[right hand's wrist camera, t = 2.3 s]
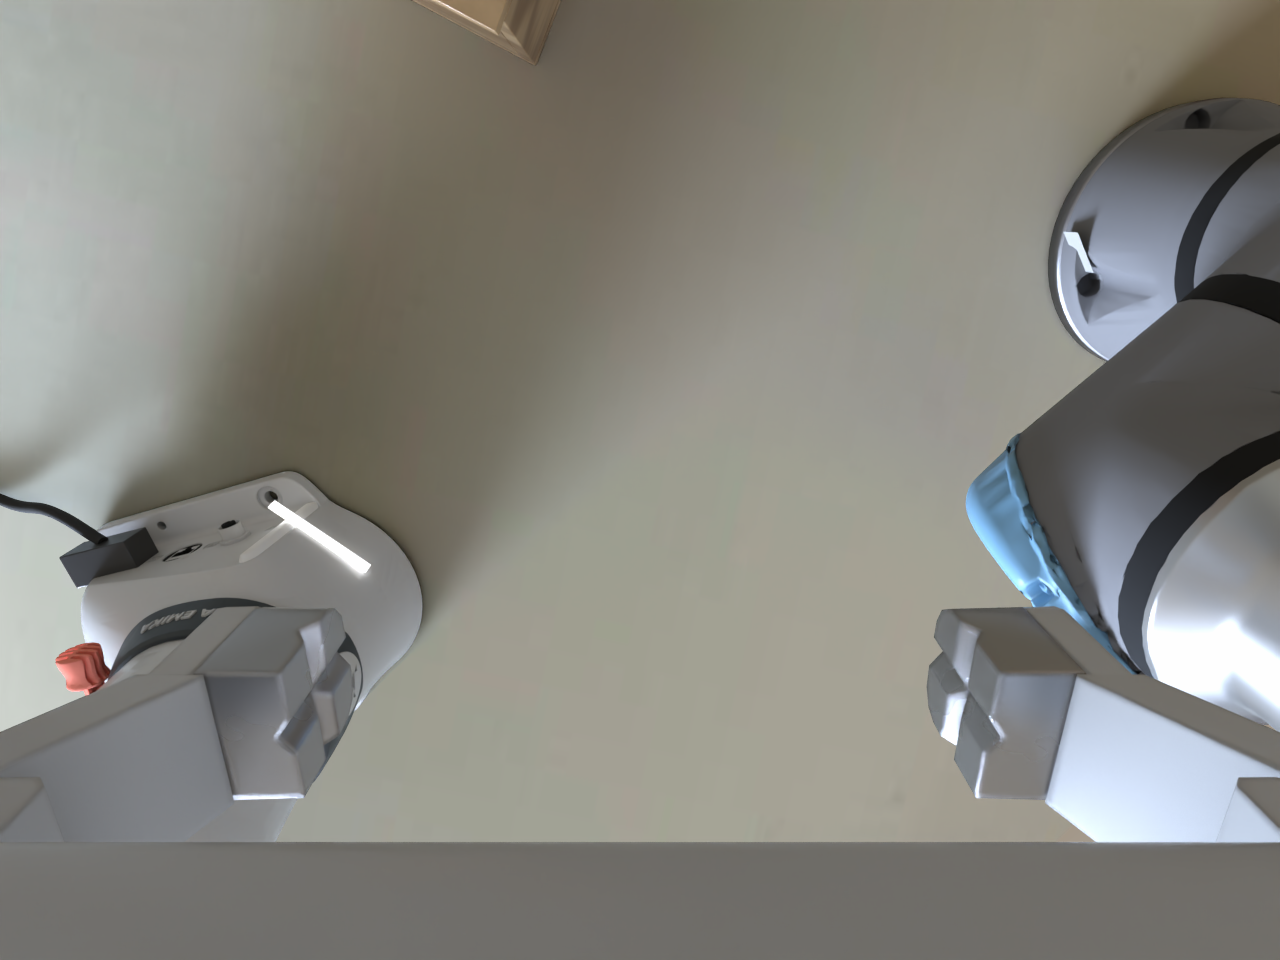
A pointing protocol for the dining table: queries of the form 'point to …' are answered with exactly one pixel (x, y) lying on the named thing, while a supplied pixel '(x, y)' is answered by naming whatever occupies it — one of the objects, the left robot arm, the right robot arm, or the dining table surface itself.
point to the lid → (480, 11)
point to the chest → (511, 26)
